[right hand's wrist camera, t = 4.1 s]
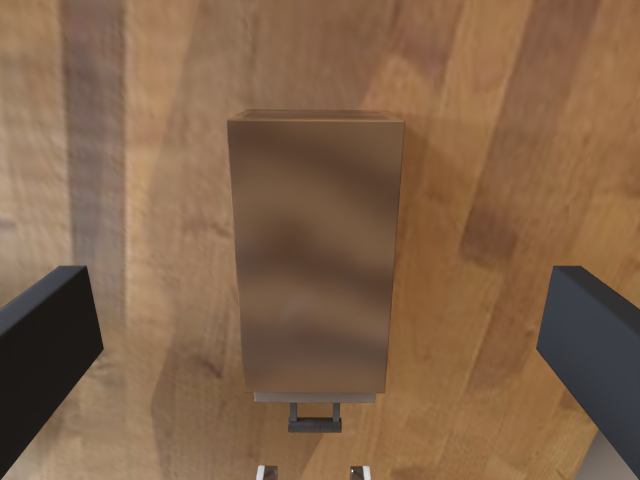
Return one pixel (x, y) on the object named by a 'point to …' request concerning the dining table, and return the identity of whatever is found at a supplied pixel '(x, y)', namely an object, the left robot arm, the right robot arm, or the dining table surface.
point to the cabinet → (315, 246)
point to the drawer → (315, 422)
